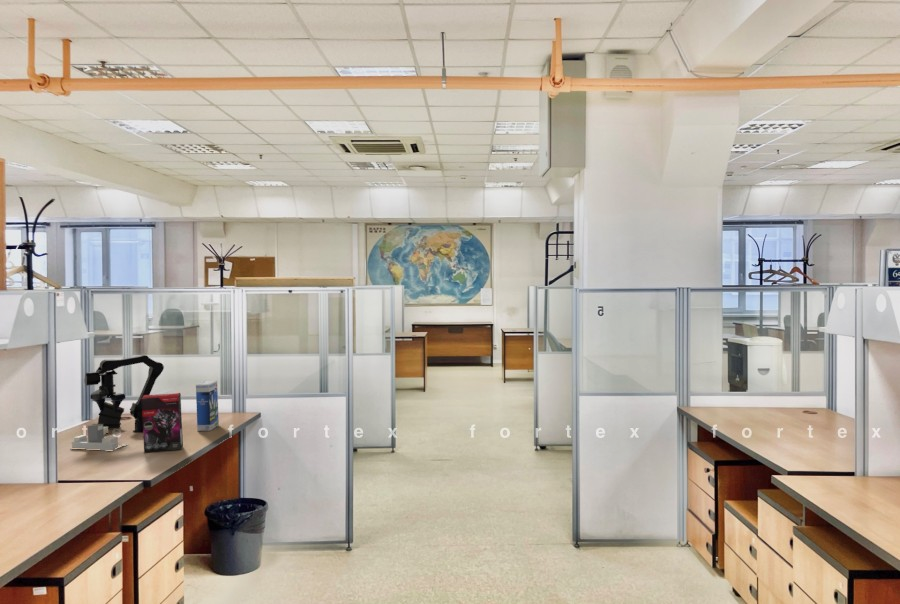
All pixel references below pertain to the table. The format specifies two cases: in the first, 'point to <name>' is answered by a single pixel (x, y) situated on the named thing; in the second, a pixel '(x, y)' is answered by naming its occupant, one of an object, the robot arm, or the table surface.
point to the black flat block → (110, 416)
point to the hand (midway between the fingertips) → (108, 412)
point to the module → (95, 433)
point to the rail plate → (106, 444)
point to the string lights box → (207, 405)
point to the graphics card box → (162, 422)
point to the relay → (105, 430)
